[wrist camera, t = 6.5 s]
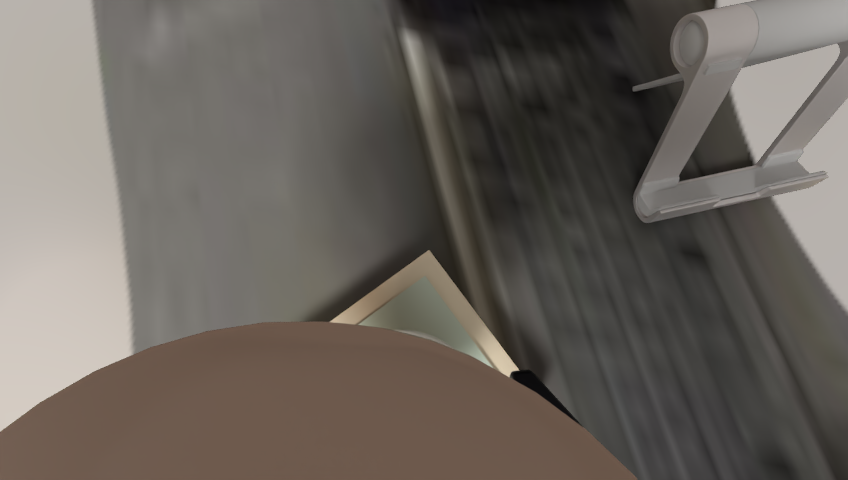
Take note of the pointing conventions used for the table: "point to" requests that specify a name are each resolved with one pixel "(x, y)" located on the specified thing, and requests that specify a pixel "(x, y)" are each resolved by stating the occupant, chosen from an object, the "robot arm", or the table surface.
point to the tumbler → (301, 414)
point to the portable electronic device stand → (710, 82)
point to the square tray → (429, 312)
